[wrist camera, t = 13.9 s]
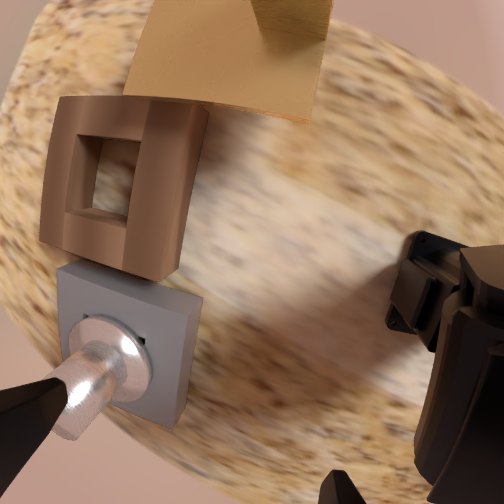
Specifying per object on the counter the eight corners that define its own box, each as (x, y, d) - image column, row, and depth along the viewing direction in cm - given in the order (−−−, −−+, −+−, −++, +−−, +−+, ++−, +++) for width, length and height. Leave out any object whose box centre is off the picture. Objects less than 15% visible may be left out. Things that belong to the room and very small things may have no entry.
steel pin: (173, 311, 20) (91, 398, 11) (168, 382, 22) (109, 473, 12) (98, 288, 21) (2, 345, 11) (101, 357, 22) (28, 425, 13)
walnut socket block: (209, 113, 17) (193, 100, 14) (178, 268, 20) (158, 282, 17) (85, 103, 18) (59, 96, 15) (65, 233, 20) (39, 240, 18)
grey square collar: (203, 297, 20) (187, 316, 17) (185, 406, 22) (173, 429, 19) (82, 258, 21) (56, 268, 18) (84, 363, 23) (65, 380, 20)
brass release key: (333, 4, 11) (344, -73, 5) (308, 124, 13) (315, 79, 7) (169, -9, 12) (119, -66, 6) (132, 99, 13) (54, 68, 8)
